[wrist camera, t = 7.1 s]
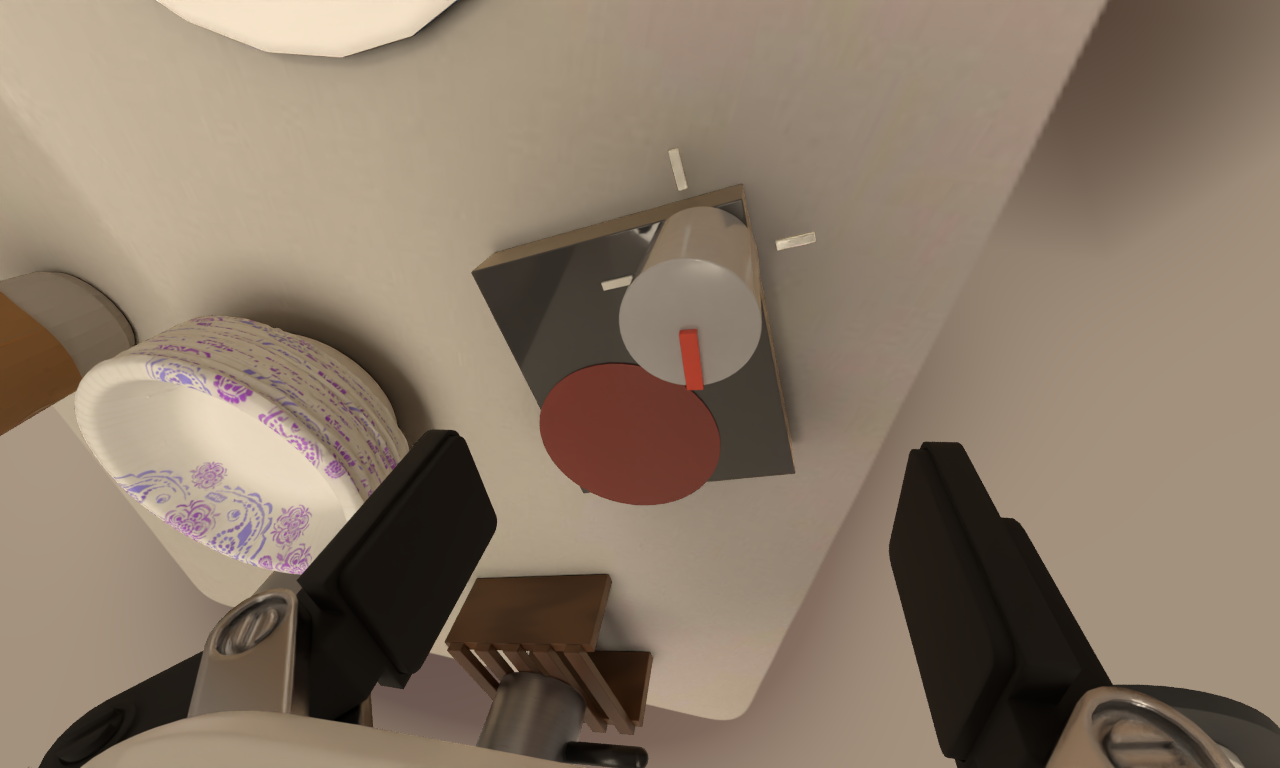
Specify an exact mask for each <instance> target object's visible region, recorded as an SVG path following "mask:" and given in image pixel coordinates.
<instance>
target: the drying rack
mask: <svg viewBox="0 0 1280 768" xmlns="http://www.w3.org/2000/svg"><path fill="white" fill-rule="evenodd" d="M611 584H612V581H611V579H610V578H609V576H608V575H607V574H604V575H575V576H545V577H516V578H487V579H476V581H475V583H474V585H473V587H472V589H471V591H470V593H469V595H468V597H467V599H466V601H465V603H464V605H463V607H462V609H461V611H460V613H459V615H458V617H457V618H456V620H455V622H454V624H453V626H452V628H451V630H450V632H449V634H448V636H447V638H446V640H445V643H446V644H447V645H448V649H447V651H448V652H449V653H450V654H451V655H452V656H453V657H454V659H455V660H456V661H457V662H458V663H459V664H460V665H461V666H462V667H463V668H464V669H465V671H466V672H467V673H468V674H469V675H470V676H471V677H472V678H473V679H474V680H475V681H476V682H477V684H478V685H479V686H480V687H481V688H482V689H483V690H484V691H485V692H486V693H487V694H488V696H489V697H490V698H491V699H492V700H494V697H495V695H496V692H497V689H498V687H499V683H498V682H497V681H496V680H495V678H494V677H493V676H492V675H491V674H490V673H489V672H488V670H487V669H486V668H485V667H484V666H483V665H482V664H481V662H480V661H479V660H478V659H477V658H476V657H475V656H474V654H473V653H472V652H471V651H470V650H469V649H471V650H475V652H476V654H477V655H478V656H479V657H480V658H481V659H482V660H483V662H484V663H485V664H486V665H487V666H488V667H489V668H490V669H491V671H492V672H493V673H494V674H495V675H496V677H497V678H499V680H500V681H501V680H502V678H503V677H504V676H506V675H507V674H510V673H514V671H513V669H512V668H511V667H510V666H509V665H508V663H507V662H506V661H505V660H504V659H503V657H502V656H501V655H500V654H499V652H498V651H497V650H503V653H504V654H505V655H506V656H507V657H508V659H509V660H510V661H511V662H512V664H513V665H514V666H515V667H516V669H517V670H518V671H519V672H532V673H538V674H543V675H547V676H550V677H553V678H556V679H558V680H561V681H563V682H565V683H567V684H568V685H570V686H572V687H573V688H575V689H576V690H577V691H578V692H580V693H581V694H582V696H583V697H584V698H585V700H586V704H587V707H586V712H585V716H584V720H583V723H587V725H588V726H589V727H590V729H591V730H592V731H593V732H603V733H604V732H605V733H606V729H607V724H610V725H614V726H615V727H616V729H617V730H618V732H619V733H620V734H628V735H634V730H635V726H638V727H642V725H643V719H644V712H645V706H646V700H647V693H648V687H649V680H650V674H651V667H652V660H653V657H652V656H651V654H650V652H615V651H595V647H596V643H597V639H598V635H599V631H600V627H601V623H602V619H603V616H604V612H605V608H606V604H607V600H608V596H609V592H610V588H611ZM526 651H530V653H529V655H528V654H527V653H526Z"/></svg>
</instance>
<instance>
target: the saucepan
mask: <svg viewBox="0 0 1280 768" xmlns="http://www.w3.org/2000/svg"><path fill="white" fill-rule="evenodd" d="M586 707H587V704H586V700H585V698H584V697H583V696H582V694H581V693H580V692H578V691H577V690H576V689H575V688H573V687H572V686H570V685H568V684H567V683H565V682H563V681H561V680H558V679H556V678H553V677H550V676H547V675H543V674H538V673H532V672H514V673H510V674H507V675H506V676H504V677H503V678H502V680H501V682H500V684H499V687H498V689H497V692H496V695H495V697H494V700H493V702H492V705H491V708H490V710H489V713H488V715H487V718H486V721H485V723H484V726H483V728H482V731H481V733H480V736H479V739H478V741H477V744H476V747H481V748H486V749H492V750H497V751H502V752H508V753H513V754H518V755H524V756H529V757H534V758H540V759H545V760H550V761H555V762H561V763H566V764H571V765H573V764H582V765H592V766H602V767H612V768H645V767H646V765H647V763H648V754H647V752H646V750H645V749H644V748H642V747H635V746H623V745H611V744H599V743H588V742H578V741H579V736H580V732H581V728H582V724H583V720H584V716H585V712H586Z"/></svg>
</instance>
